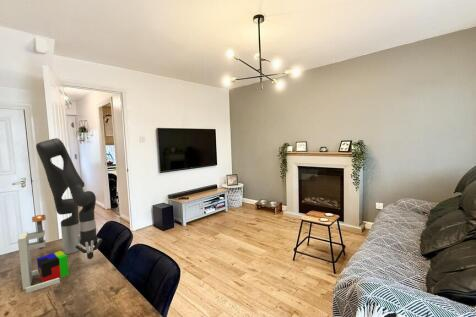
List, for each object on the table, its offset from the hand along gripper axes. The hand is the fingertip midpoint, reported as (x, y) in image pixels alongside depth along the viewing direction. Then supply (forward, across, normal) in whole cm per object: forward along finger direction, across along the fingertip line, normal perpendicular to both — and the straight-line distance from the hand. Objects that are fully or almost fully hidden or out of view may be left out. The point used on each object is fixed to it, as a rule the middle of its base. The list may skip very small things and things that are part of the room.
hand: (90, 258), depth 126 cm
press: (+4, +20, 0) cm, 20 cm away
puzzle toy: (+4, +16, 0) cm, 17 cm away
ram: (-12, +20, 0) cm, 23 cm away
